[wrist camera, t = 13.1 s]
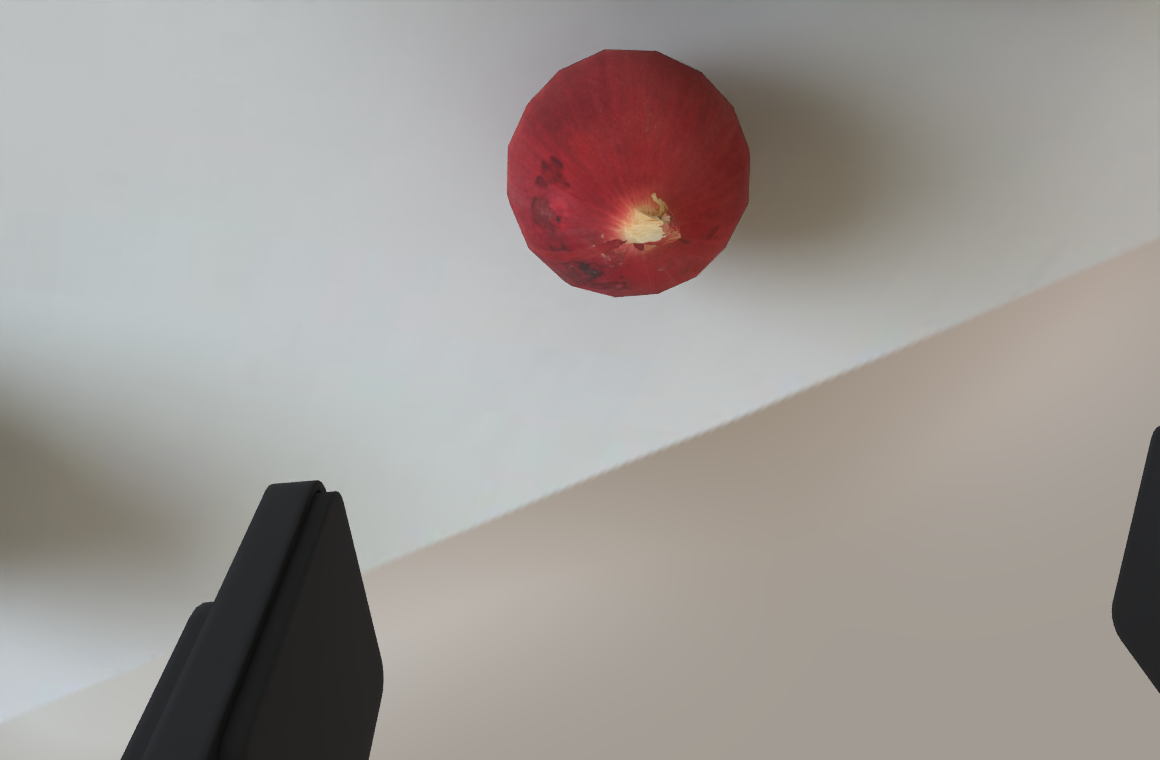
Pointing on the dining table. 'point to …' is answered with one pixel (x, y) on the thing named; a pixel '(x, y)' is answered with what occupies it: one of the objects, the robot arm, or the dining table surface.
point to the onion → (628, 173)
